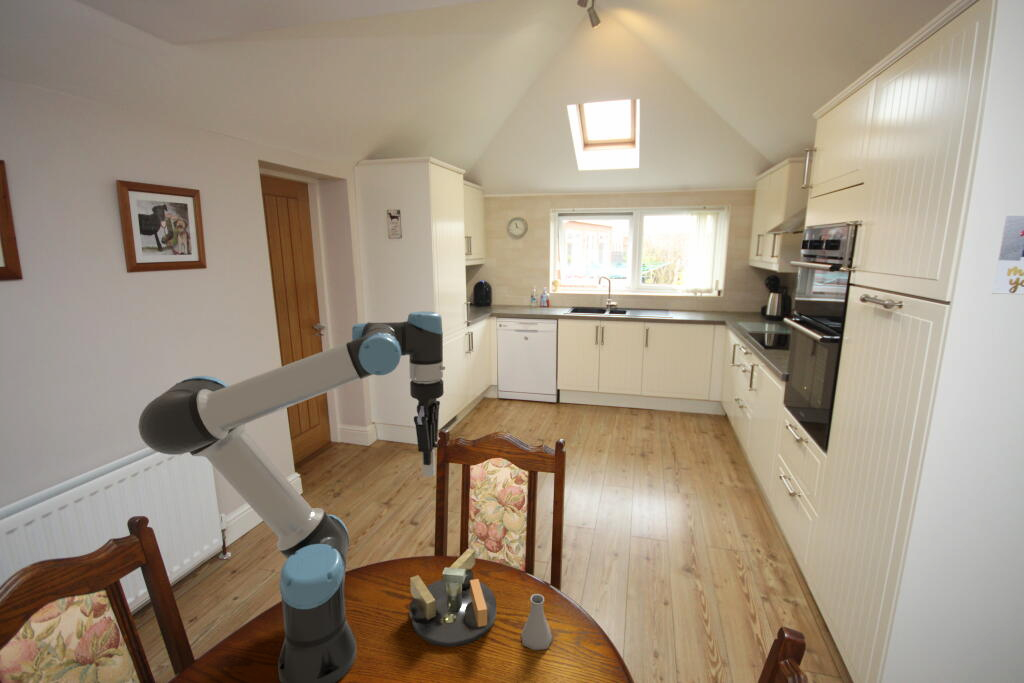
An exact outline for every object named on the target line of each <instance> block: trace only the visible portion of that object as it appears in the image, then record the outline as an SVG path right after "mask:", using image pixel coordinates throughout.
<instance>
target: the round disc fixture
mask: <svg viewBox="0 0 1024 683" xmlns="http://www.w3.org/2000/svg"><path fill="white" fill-rule="evenodd" d="M475 565H476V550H475V549H472V548H470V547H469V548H467V549H466V550H465V551H464V552H463V553H462V554H461V555H460V556H459V557H458V558H457V559H456V561H454V562H453V563H452V564H451V565H450V567H447V566H446V567H444V569H443V571H442V574H441V576H442V577H441V579H439V580H437V581H434V582H432V583H430V584H428V585H427V586H426V584H425V583H424V581H423V580H422V578H421V577H420V576H419V575H418V574H417V575H414V576H412V577H409V579H410V584H409V585H410V594H411V595H412V596H411V597H413V599H412V600H411V601H410V602H409V618H410V620H411V623H412V627H413V630H414V632H415V633H416V635H418V636H419V637H420V638H421V639H422V640H423V641H425V642H427V643H429V644H432V645H434V646H438V647H445V648H454V647H463V646H465V645H469V644H471V643H474V642H476V641H478V640H479V639H481V638H483V637H484V636H485V635H486V634H487V633H488V632H489V631H490V630H491V628H492V626H494V623H495V621H496V618H497V600H496V597H495V595H494V592H493V591H492V590H491V588H490V587H489V586H488V585H486V584H485V583H483V582H482V581H479V583H480V586H481V590H482V593H483V597H484V600H485V601H486V602H487V603H489V604H490V606H491V622H490V624H489V625H488V626H486V627H485V628H482V629H473V628H471V627H469V626H468V625H467V624H466V622H465V608H466V606H467V605H468V604H469V603H470V602H472V601H471V597H470V580H474V572H473V569H472V568H473V567H474V566H475Z"/></svg>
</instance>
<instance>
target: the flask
mask: <svg viewBox="0 0 1024 683" xmlns="http://www.w3.org/2000/svg"><path fill="white" fill-rule="evenodd" d="M529 600H530V610H529V614H528V617H527V619H526V622H525V624H524V626H523V628H522V631H521V633H520V638H521V643H522V646H524V647H526V648H529V649H530V650H533V651H541V650H548V648H549V647H550V645H551V643H552V642H553V641H554V639H553V635H552V632H551V629H550V626H549V624H548V620H547V618H546V615H545V613H544V603H545V597H544V595H542V594H540V593H534V594H532V595H531V596H530V598H529Z"/></svg>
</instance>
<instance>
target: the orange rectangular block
mask: <svg viewBox="0 0 1024 683" xmlns="http://www.w3.org/2000/svg"><path fill="white" fill-rule="evenodd" d="M473 579H474V578H473ZM479 582H480V580H479V578H475V579H474V580H470V597H471V601H472V602H470V603H469V604H468V605H467V606H466V608H465V622H466V624H467V625H468V626H469V627H471V628H473V629H482V628H485V627H486V626H488V625H489V624H490V622H491V606H490V604H489V603H487V602H486V601H485V600H484V597H483V593H482V590H481V586H480V583H479Z"/></svg>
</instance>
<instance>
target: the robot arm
mask: <svg viewBox="0 0 1024 683" xmlns="http://www.w3.org/2000/svg"><path fill="white" fill-rule="evenodd" d="M407 316H408V317H407V319H406V320H407V321H406V320H405V321H401V322H397V321H395V322H392V321H391V322H371V321H367V322H364V323H355V324H354V325H353V326H352V327H351V328H352V329H351V330H352V331H351V336H352V337H351V338H352V339H351V341H349V342H345V343H342V344H340V345H337V346H334V347H332V348H329V349H326V350H323V351H321V352H317V353H315V354H312V355H311V356H307V357H304V358H302V359H299V360H296V361H293V362H291V363H288V364H286V365H282V366H279V367H277V368H275V369H272V370H269V371H266V372H263V373H261V374H257V375H256V376H253V377H249V378H246V379H245V380H242V381H239V382H235V383H234V384H230V385H228V384H227V383H226V382H224V381H223V380H221V379H219V378H217V377H214V376H208V375H198V376H192V377H189V378H186V379H183V380H181V381H180V382H176V384H174V385H173V386H171V387H170V388H169V389H167V390H166V391H165V392H163V393H161V394H160V395H159V396H156V397H155V398H154V399H153V400H151V401H150V402H149V403H147V405H146V406H145V407H144V409H143V410H142V412H141V414H140V416H139V421H138V432H139V435H140V438H141V439H142V441H143V443H144V444H146V445H147V447H149V448H150V449H151V450H153V451H155V452H157V453H160V454H165V455H170V456H172V455H173V456H175V455H183V454H188V453H189V454H190V455H191V456H192V457H203V458H206V459H207V460H208V462H210V464H211V465H213V467H214V468H215V469H216V471H218V472H219V473H220V475H221V476H222V477H223V478H224V479H225V480H226V481H227V482H228V483H229V484H230V486H232V488H233V489H234V490H235V491H236V492H237V494H239V495H240V497H241V498H242V499H243V500H244V501H245V502H246V504H247V505H249V507H250V508H251V509H253V511H254V512H255V513H256V514H257V515H258V516H259V517H260V518H261V520H262V521H263V522H264V523H265V524H266V525H267V526H268V528H270V529H271V531H272V532H273V533H274V534H275V535H276V536H277V537H278V538H277V545H276V548H277V550H279V552H281V554H282V555H283V556H284V557H285V558H286V560H285V561H284V563H283V565H282V568H281V571H280V578H279V584H278V585H279V589H280V591H279V593H280V594H281V605H282V607H281V608H282V616H283V627H284V628H283V629H284V635H285V636H284V640H283V644H282V648H281V651H280V654H279V658H278V662H277V670H278V678H279V681H280V683H337V682H339V681H340V680H341V679H342V678H344V676H345V675H346V674H348V673H349V671H350V670H351V668H352V666H353V665H354V663H355V661H356V658H357V642H356V641H357V640H356V636H355V634H354V632H353V631H352V629H351V626H350V625H349V622H348V621H347V619H346V618H347V616H346V615H347V614H346V601H345V600H346V599H345V579H346V569H347V561H348V553H349V546H350V538H349V532H348V529H347V527H346V525H345V522H344V521H343V520H341V518H339V517H338V516H337V515H335V514H327V513H326V512H325V510H324V509H323V508H321V507H314V508H313V507H311V505H310V504H309V503H308V502H307V501H306V500H305V499H304V497H303V496H302V495H301V494H300V493H299V491H298V490H297V489H296V488H295V487H294V486H293V484H292V483H291V482H290V481H289V480H288V478H287V477H286V476H285V475H284V474H283V473H282V471H280V470H279V469H280V468H278V467H277V466H276V465H275V463H274V462H273V461H272V460H271V459H270V458H269V456H268V455H267V454H266V452H264V450H262V448H261V447H260V446H259V445H258V444H257V442H256V441H255V440H254V438H252V437H251V435H250V434H249V433H248V432H247V430H246V429H245V425H246V424H248V423H251V422H253V421H256V420H258V419H261V418H263V417H266V416H269V415H271V414H274V413H277V412H279V411H283V410H284V409H287V408H289V407H293V406H294V405H297V404H300V403H303V402H305V401H307V400H310V399H313V398H315V397H317V396H318V397H319V396H321V395H322V394H325V393H328V392H331V391H333V390H336V389H339V388H341V387H343V386H346V385H349V384H351V383H354V382H357V381H360V380H362V379H364V378H367V377H371V376H373V375H374V376H385V375H389V374H390V373H392V372H393V371H395V370H396V368H397V367H398V366H399V364H400V361H401V358H402V356H409V379H410V380H411V381H410V384H409V385H410V386H409V388H410V390H409V392H410V397H411V398H413V399H415V400H417V401H418V402H417V403H418V404H417V405H416V413H417V415H415V416H413V422H414V424H415V432H416V440H417V441H416V442H417V451H418V453H421V462H422V463H421V464H422V466H421V468H422V477H428V478H429V477H430V478H434V477H435V475H436V449H437V448H439V444H440V443H437V442H438V438H439V435H438V434H439V418H440V417H439V413H440V412H439V411H440V405H441V402H440V400H437V399H439V398H441V397H443V395H444V380H443V379H442V378H444V370H445V369H446V366H445V365H443V364H444V363H443V362H444V361H443V360H444V356H443V355H444V353H443V352H444V351H443V348H444V347H443V346H444V345H443V342H444V339H443V338H444V337H443V336H444V332H443V321H442V315H441V314H439V313H438V312H435V311H412V312H410V313H409V314H408V315H407ZM435 448H436V449H435Z"/></svg>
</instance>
